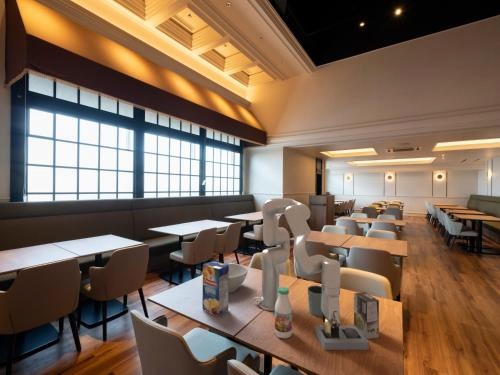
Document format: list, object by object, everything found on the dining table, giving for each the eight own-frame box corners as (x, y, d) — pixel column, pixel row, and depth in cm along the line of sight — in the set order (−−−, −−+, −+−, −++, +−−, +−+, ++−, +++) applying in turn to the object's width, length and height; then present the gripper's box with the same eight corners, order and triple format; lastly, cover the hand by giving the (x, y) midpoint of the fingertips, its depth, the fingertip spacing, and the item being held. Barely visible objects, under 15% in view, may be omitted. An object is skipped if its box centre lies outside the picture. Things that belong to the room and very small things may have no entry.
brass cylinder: (326, 344, 96) (327, 322, 96) (323, 337, 101) (323, 316, 101) (337, 344, 96) (337, 322, 96) (333, 337, 101) (333, 316, 101)
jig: (324, 349, 93) (324, 339, 93) (316, 332, 104) (316, 323, 104) (368, 349, 93) (368, 339, 93) (355, 332, 104) (355, 323, 104)
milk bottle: (273, 328, 107) (273, 285, 107) (289, 328, 107) (289, 285, 107) (276, 339, 99) (276, 293, 99) (293, 338, 100) (294, 292, 100)
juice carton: (202, 309, 123) (202, 264, 123) (212, 303, 129) (212, 261, 129) (218, 316, 116) (219, 269, 116) (228, 310, 122) (228, 265, 122)
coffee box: (379, 337, 101) (379, 300, 101) (366, 339, 100) (367, 302, 100) (365, 325, 110) (365, 291, 110) (353, 327, 109) (353, 292, 109)
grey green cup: (327, 309, 125) (327, 286, 125) (327, 319, 115) (327, 295, 115) (308, 305, 128) (308, 284, 128) (306, 315, 118) (306, 291, 118)
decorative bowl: (255, 286, 153) (255, 268, 153) (230, 303, 130) (231, 281, 130) (223, 277, 167) (223, 260, 167) (196, 291, 144) (197, 272, 145)
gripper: (315, 281, 107) (315, 318, 107) (329, 299, 90) (329, 342, 90) (331, 281, 107) (331, 318, 107) (348, 299, 90) (348, 342, 90)
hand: (330, 329), depth 98 cm, fingers open, 9 cm apart
